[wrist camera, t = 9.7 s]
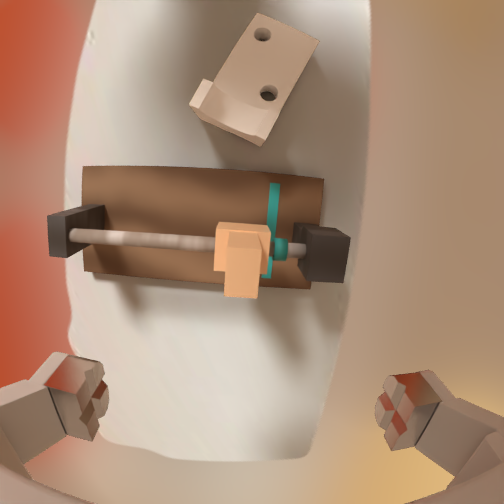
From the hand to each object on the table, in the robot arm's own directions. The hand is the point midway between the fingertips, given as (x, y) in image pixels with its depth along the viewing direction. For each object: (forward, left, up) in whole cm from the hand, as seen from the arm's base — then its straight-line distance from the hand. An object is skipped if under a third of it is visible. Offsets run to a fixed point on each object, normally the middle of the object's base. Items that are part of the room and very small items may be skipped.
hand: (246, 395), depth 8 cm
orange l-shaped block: (0, 0, -19) cm, 19 cm away
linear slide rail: (0, -5, -26) cm, 27 cm away
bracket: (-16, 0, -27) cm, 31 cm away
